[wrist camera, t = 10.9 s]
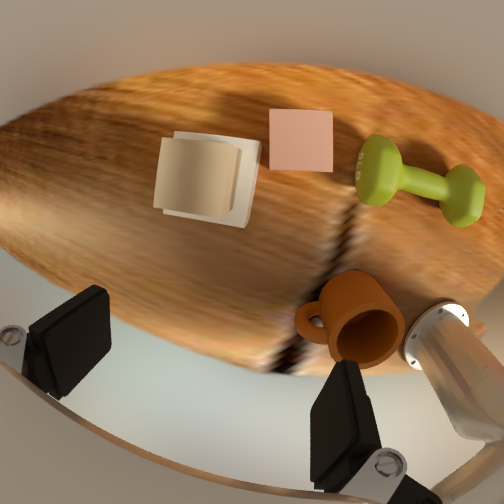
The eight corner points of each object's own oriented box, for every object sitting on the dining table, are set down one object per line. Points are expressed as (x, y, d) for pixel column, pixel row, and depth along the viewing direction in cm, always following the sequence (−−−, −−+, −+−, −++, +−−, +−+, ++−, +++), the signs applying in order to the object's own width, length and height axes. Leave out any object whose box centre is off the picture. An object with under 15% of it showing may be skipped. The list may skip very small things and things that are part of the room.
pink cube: (323, 122, 28) (332, 111, 22) (323, 172, 30) (332, 172, 24) (271, 120, 29) (269, 108, 23) (271, 170, 30) (269, 169, 25)
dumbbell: (345, 198, 31) (363, 206, 24) (355, 133, 28) (375, 124, 21) (451, 224, 30) (481, 237, 23) (460, 169, 27) (492, 172, 20)
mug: (301, 261, 33) (309, 291, 25) (387, 274, 33) (417, 304, 24) (288, 323, 36) (290, 365, 27) (368, 332, 35) (388, 371, 27)
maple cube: (242, 150, 26) (232, 144, 20) (232, 208, 27) (220, 218, 22) (185, 143, 26) (162, 137, 20) (177, 199, 28) (152, 207, 22)
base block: (262, 145, 30) (259, 141, 25) (249, 219, 33) (244, 228, 28) (189, 136, 30) (174, 131, 26) (179, 207, 33) (163, 213, 28)
